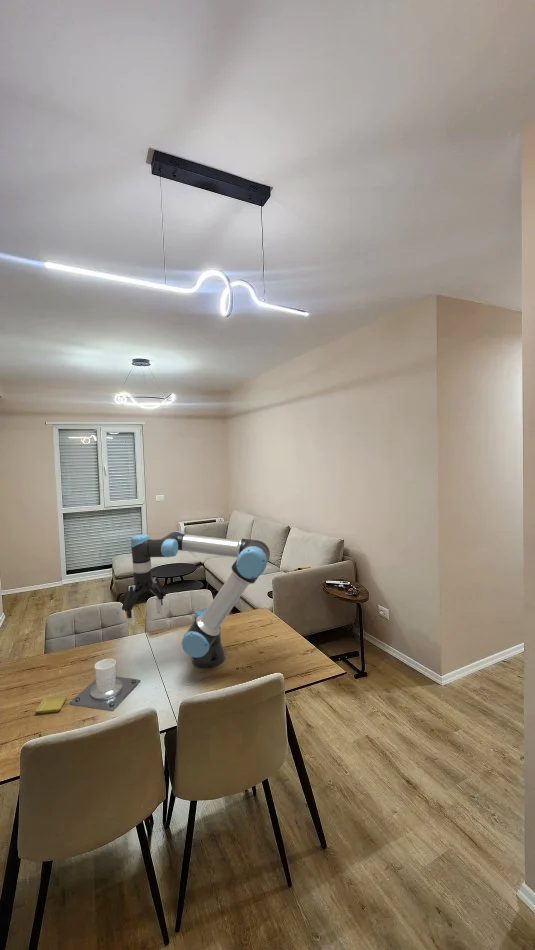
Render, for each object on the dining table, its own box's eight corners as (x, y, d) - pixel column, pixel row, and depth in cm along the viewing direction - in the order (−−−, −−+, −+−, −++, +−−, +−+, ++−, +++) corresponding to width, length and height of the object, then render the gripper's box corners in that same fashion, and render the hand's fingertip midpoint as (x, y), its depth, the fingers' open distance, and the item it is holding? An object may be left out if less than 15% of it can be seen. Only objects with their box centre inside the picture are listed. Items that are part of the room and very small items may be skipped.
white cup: (120, 687, 158) (119, 663, 157) (101, 696, 152) (100, 671, 152) (110, 679, 163) (109, 656, 163) (92, 688, 157) (91, 664, 157)
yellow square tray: (68, 699, 155) (68, 694, 155) (60, 713, 146) (60, 708, 146) (44, 701, 153) (44, 696, 153) (35, 716, 145) (35, 711, 145)
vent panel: (140, 681, 165) (140, 676, 165) (113, 711, 147) (112, 705, 147) (101, 676, 169) (100, 671, 169) (69, 704, 151) (69, 699, 151)
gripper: (161, 562, 181) (165, 607, 182) (110, 577, 162) (114, 627, 163) (171, 564, 176) (175, 610, 177) (120, 580, 157) (124, 632, 158)
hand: (146, 618), depth 170 cm, fingers open, 13 cm apart
